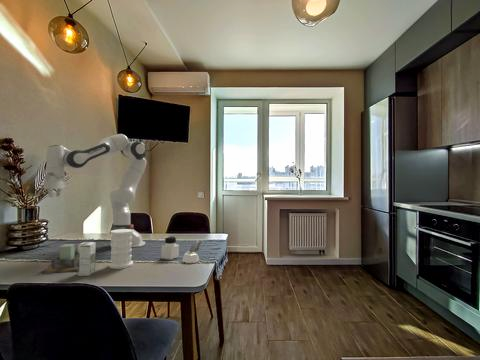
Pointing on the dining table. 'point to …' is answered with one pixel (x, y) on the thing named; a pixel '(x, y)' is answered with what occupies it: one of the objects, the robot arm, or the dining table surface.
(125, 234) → the decorative container
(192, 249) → the inkwell
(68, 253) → the square peg
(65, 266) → the collar stand
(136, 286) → the dining table surface
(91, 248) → the syrup box
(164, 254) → the medicine bottle
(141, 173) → the robot arm
